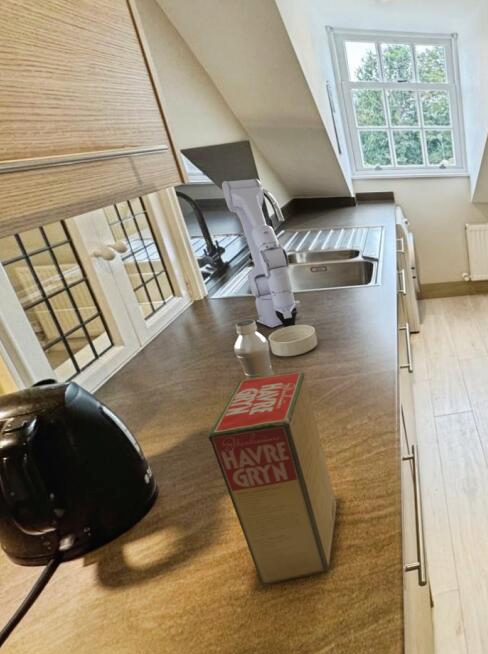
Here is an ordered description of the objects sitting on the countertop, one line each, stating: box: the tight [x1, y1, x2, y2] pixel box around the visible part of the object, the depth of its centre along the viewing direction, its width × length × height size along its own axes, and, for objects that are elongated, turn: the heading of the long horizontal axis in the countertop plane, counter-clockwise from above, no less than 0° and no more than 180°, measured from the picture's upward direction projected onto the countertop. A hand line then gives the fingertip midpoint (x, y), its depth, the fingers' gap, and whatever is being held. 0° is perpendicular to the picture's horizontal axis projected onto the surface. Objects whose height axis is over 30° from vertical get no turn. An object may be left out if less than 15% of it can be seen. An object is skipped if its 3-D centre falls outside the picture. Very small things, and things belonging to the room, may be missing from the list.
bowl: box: [267, 324, 318, 357], centre depth 127 cm, size 12×12×4 cm
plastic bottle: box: [233, 319, 275, 379], centre depth 98 cm, size 6×7×20 cm
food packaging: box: [207, 370, 337, 586], centre depth 63 cm, size 13×9×25 cm
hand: (291, 332), depth 136 cm, fingers closed
